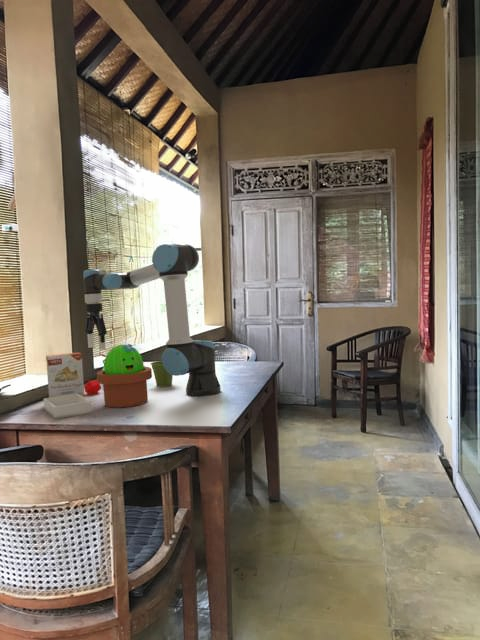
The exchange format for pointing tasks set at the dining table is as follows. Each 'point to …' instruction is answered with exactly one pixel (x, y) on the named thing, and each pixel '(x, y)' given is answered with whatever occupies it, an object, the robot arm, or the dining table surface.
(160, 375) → the plant pot
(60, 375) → the cracker box
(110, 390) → the potted cactus
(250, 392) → the dining table surface
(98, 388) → the apple
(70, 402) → the box
